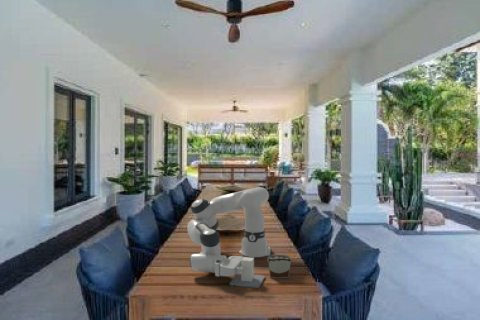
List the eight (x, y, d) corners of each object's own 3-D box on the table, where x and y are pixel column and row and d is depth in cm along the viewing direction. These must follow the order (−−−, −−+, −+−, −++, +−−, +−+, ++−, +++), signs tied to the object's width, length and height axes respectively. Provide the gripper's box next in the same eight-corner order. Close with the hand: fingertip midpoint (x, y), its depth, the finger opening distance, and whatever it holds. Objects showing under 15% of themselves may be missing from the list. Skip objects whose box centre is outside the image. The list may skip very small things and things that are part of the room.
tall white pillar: (244, 277, 203) (244, 257, 203) (253, 278, 202) (254, 257, 201) (241, 280, 199) (241, 260, 198) (251, 281, 197) (251, 261, 197)
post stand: (237, 275, 209) (237, 259, 208) (265, 277, 205) (265, 261, 205) (229, 285, 196) (229, 268, 195) (258, 288, 192) (258, 271, 191)
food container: (290, 273, 212) (290, 254, 211) (291, 277, 206) (292, 257, 205) (265, 273, 212) (266, 254, 211) (267, 277, 205) (267, 258, 205)
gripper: (227, 264, 214) (253, 266, 210) (214, 277, 194) (243, 280, 190) (227, 252, 213) (253, 254, 210) (214, 264, 194) (243, 267, 190)
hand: (248, 266), depth 200 cm, fingers open, 8 cm apart
